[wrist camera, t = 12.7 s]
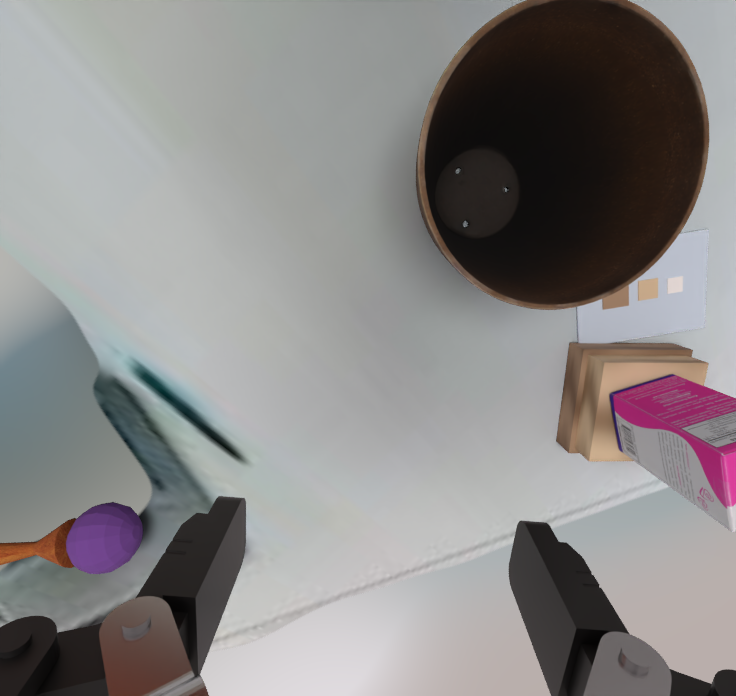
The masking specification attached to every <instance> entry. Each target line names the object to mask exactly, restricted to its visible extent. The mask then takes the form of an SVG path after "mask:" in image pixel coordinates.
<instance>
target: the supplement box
mask: <svg viewBox="0 0 736 696" xmlns="http://www.w3.org/2000/svg"><path fill="white" fill-rule="evenodd" d="M610 402H611V408H612V413H613V418H614V424H615V429H616V435H617V440H618V446H619V450H620V451H621V452H623V453H624V454H625V455H627V456H628V457H630V458H631V459H632V460H634V461H635V462H637V463H638V464H639V465H641V466H642V467H643V468H645V469H646V470H648V471H649V472H650V473H652V474H653V475H654V476H656V477H657V478H659V479H660V480H661V481H663V482H664V483H665V484H667V485H668V486H670V487H671V488H672V489H674V490H675V491H676V492H678V493H679V494H680V495H682V496H684V497H685V498H686V499H687V500H689V501H690V502H691V503H693V504H694V505H696V506H697V507H698V508H700V509H701V510H703V511H704V512H705V513H707V514H708V515H709V516H711V517H712V518H713V519H715V520H716V521H718V522H719V523H720V524H722V525H723V526H724V527H726V528H727V529H728V530H730V531H731V532H736V398H733V397H730V396H728V395H725V394H723V393H720V392H717V391H715V390H712V389H710V388H707V387H705V386H702V385H700V384H697V383H695V382H692V381H689V380H687V379H684V378H682V377H679V376H677V375H674V374H671V375H668V376H665V377H662V378H658V379H655V380H652V381H649V382H645V383H642V384H639V385H635V386H632V387H629V388H626V389H623V390H619V391H616V392H612V393H610Z"/></svg>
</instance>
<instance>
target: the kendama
mask: <svg viewBox="0 0 736 696" xmlns="http://www.w3.org/2000/svg"><path fill="white" fill-rule="evenodd" d="M142 536H143V527H142V522H141V520H140V518H139V517H138V515H137V514H136V513H135V512H134V511H133V510H132V508H131V507H128V506H124V505H121V504H118V503H114V502H112V503H105V504H101V505H97V506H94V507H92V508H90V509H89V510H87V511H86V512H84V513H83V514H82V515H81V516H79V517H78V518H77V519H75V518H74V519H71V520H68V521H67V522H65V523H63V524H62V525H61V526H59V527H58V528H56V529H55V530H54V531H52V532H51V533H49V534H48V535H46V536H45V537H44V538H42V539H41V540H39V541H38V542H24V543H23V542H21V543H0V565H2V564H6V563H9V562H13V561H16V560H20V559H23V558H27V557H30V556H34V555H38V556H40V557H42V558H45V559H47V560H49V561H51V562H54V563H56V564H58V565H60V566H63V567H67V568H72V567H74V566H75V567H76V568H78V569H79V570H81V571H84V572H87V573H90V574H101V573H108V572H112V571H113V570H115V569H117V568H119V567H120V566H122V565H123V564H125V563H127V562H128V561H129V560H130V559H131V558H132V556H133V555H134V554H135V552H136V551H137V549H138V547H139V546H140V543H141V541H142Z"/></svg>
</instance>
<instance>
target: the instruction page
mask: <svg viewBox="0 0 736 696" xmlns="http://www.w3.org/2000/svg"><path fill="white" fill-rule="evenodd" d="M708 233H709V229H705V230H699V231H693V232H686V233H680V234H679V235H678V237H677V238H676V239H675V241H674V242H673V243H672V245H671V246H670V247H669V249H668V250H667V251H666V252H665V253H664V255H663V256H662V257H661V258H660V259H659V260H658V261H657V262H656V263H655V264H654V265H653V266H652V267H651V268H650V269H649V270H648V271H646V272H645V273H644V274H643V275H642V276H640V277H639V278H638V279H636V280H635V281H634V282H632V283H631V284H629V285H628V286H626V287H625V288H623V289H621V290H620V291H618V292H616V293H614V294H612V295H610V296H608V297H606V298H603V299H601V300H598V301H595V302H593V303H589V304H586V305H583V306H578V307H577V333H578V343H614V342H620V341H626V340H632V339H638V338H644V337H650V336H657V335H663V334H669V333H675V332H681V331H687V330H693V329H699V328H705V315H706V287H707V260H708Z"/></svg>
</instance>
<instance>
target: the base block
mask: <svg viewBox="0 0 736 696" xmlns="http://www.w3.org/2000/svg"><path fill="white" fill-rule="evenodd" d="M692 351H693V350H691V349H688V348H685V347H682V346H679V345H676V344H666V343H570V344H569V351H568V359H567V366H566V373H565V381H564V388H563V396H562V403H561V411H560V418H559V426H558V433H557V440H556V441H557V442H558V443H559V444H560V445H561V446H562V447H563V448H564V449H565V450H566V451H567V452H568V453H581V454H582V455H583V456H584V457H585V458H586V459H587V460H588V461H634V460H632V459H631V458H630V457H628V456H627V455H625V454H624V453H623V452H621V451H620V450H619V446H618V440H617V435H616V429H615V424H614V418H613V413H612V408H611V402H610V393H612V392H616V391H619V390H623V389H626V388H629V387H632V386H635V385H639V384H642V383H645V382H649V381H652V380H655V379H658V378H662V377H665V376H668V375H671V374H674V375H677V376H679V377H682V378H684V379H687V380H689V381H692V382H695V383H697V384H700V385H702V386H704V382H705V377H706V373H707V368H708V363H706V362H704V361H701V360H698V359H695V358H692V357H691V356H692Z"/></svg>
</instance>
